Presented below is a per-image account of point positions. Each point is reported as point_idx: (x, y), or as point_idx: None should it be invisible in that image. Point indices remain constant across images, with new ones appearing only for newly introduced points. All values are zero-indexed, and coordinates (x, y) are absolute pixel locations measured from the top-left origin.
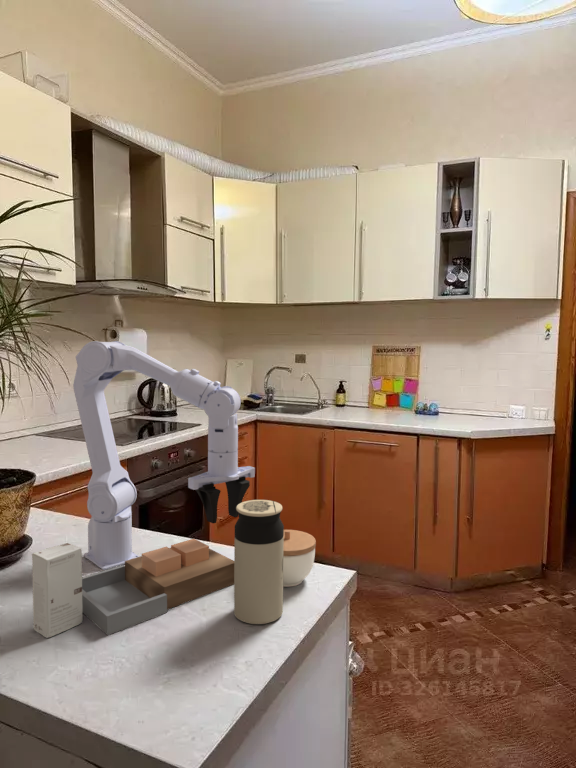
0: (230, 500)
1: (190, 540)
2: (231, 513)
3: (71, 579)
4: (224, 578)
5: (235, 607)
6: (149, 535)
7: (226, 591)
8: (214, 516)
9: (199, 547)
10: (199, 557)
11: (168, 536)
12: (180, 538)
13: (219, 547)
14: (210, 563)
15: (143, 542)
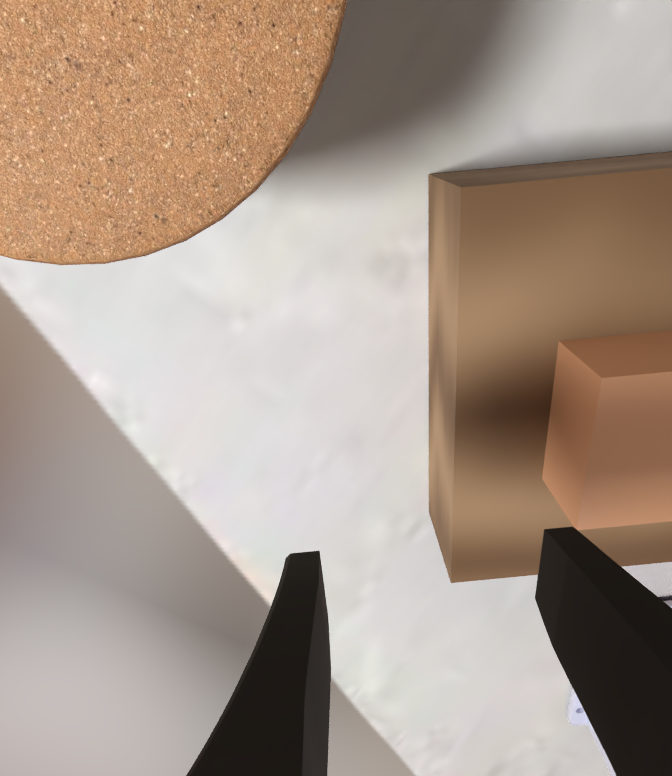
0: (323, 760)
1: (611, 517)
2: (325, 613)
3: None
4: (535, 169)
5: None
6: (428, 745)
7: (532, 119)
8: (613, 568)
9: (664, 392)
10: (648, 345)
11: (378, 717)
12: (351, 688)
13: (261, 560)
14: (599, 277)
15: (480, 711)
